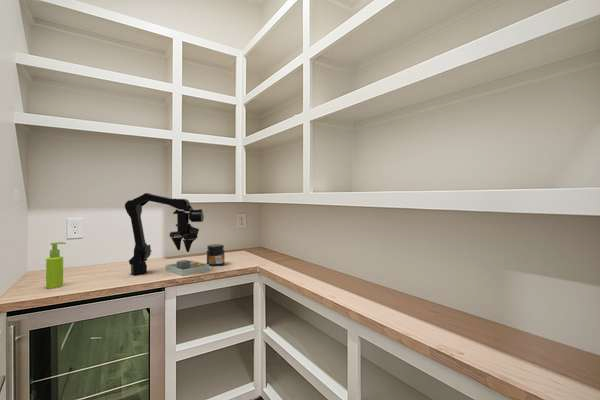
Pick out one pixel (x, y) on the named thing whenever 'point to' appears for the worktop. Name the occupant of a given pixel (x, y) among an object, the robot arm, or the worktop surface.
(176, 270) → the bay
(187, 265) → the connector
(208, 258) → the supplement container
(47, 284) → the soap dispenser
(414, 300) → the worktop surface
